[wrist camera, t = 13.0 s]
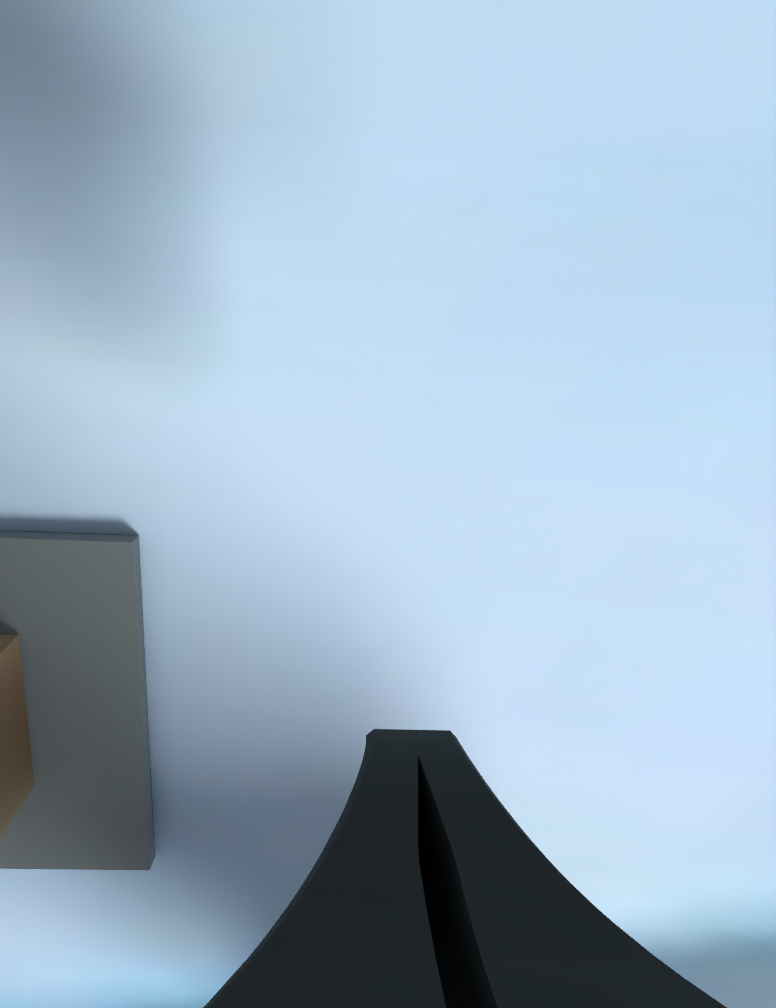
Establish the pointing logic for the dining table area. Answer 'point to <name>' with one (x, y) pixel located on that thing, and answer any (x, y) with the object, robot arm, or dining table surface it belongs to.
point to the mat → (79, 700)
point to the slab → (13, 733)
